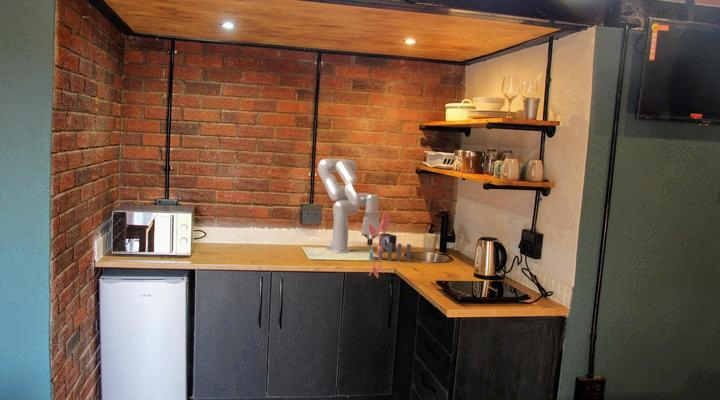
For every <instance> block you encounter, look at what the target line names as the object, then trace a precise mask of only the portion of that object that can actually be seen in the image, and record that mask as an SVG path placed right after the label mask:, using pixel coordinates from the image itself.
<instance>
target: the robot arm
mask: <svg viewBox="0 0 720 400" xmlns="http://www.w3.org/2000/svg"><path fill="white" fill-rule="evenodd" d="M357 170H358V165H357V163H356V162H355V161H354V160H352V159H344V158H330V157H329V158H328V157H327V158H323V159H321V160H319V162H318V164H317V173H318V176H319V177H320V179H321V181H322V183H323V185H324V188H325V190H326V192H327V194H328V196H329V198H330V200H331V201H334V203H333V205H332V213H333V214H332V215H333V226H332V227H333V229H332V241H331V242H330V243H325V244H324V247H326V248H329V250H328V251H330V252H334V253H340V254H341V253H349V252H350V249H349V248H348V245H349V244H348V243H349V242H348V240H349V225H350V224H349V223H350V222H349V218H348V216H354V215H356V214H357V213H358V212H359V207H361V206H365V212H364V213H365V214H364V216H363V219H362V228H361V233H360V234H361V236H362V237H365V238H366V239H367V244H366V245H367V246H368V247H371V246H373V240H374V239H375V238H379V237H380V236H379V235H378V233H379V234H380V231H379V229H380V228H379V229H378V227H379V226H380V218H379V217H381V213H379V198H380V197H379V195H377V194H371V193H368V192H357V191H356V190H355V188H354V186H355V184H356V183H357V182H358V179H359V178H358V176H357V174H356V172H357ZM333 172H334V173H338V175H339V176H340V178H341V180H342V181H343V183H344V185H341V184H339V182H338V179H337V178H336V176H335V175H334V174H333ZM369 224H370V225H372V226H373V227H374V229H375V231H376V230H377V229H378V231H379V232H378V233H377V232H376V236H373V235H372V236H370V235H371V234H370V231H369V229H368V226H369Z"/></svg>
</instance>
